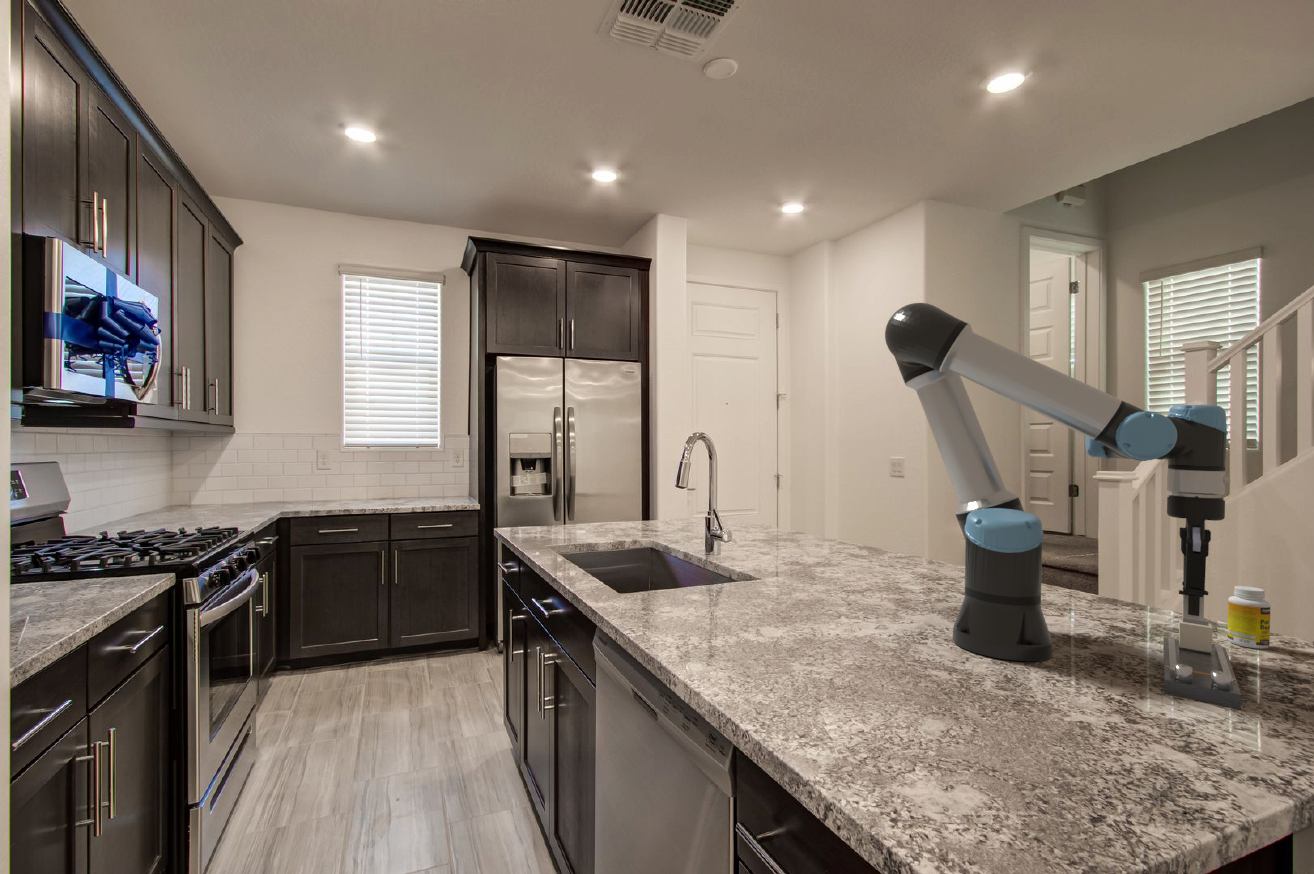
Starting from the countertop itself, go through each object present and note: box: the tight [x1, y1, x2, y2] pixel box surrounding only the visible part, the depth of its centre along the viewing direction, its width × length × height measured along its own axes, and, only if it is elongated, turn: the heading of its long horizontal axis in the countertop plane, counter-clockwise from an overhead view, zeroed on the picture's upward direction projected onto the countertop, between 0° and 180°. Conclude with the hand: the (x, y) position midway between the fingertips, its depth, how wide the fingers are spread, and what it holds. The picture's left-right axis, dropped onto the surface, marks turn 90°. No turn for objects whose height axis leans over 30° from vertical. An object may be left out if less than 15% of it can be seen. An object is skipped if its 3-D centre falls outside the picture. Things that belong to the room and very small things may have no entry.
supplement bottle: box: [1227, 585, 1271, 650], centre depth 113 cm, size 6×6×10 cm
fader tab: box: [1178, 618, 1213, 653], centre depth 103 cm, size 4×3×5 cm
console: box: [1162, 636, 1242, 710], centre depth 97 cm, size 8×26×4 cm, turn 141°
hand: (1192, 632), depth 107 cm, fingers closed
